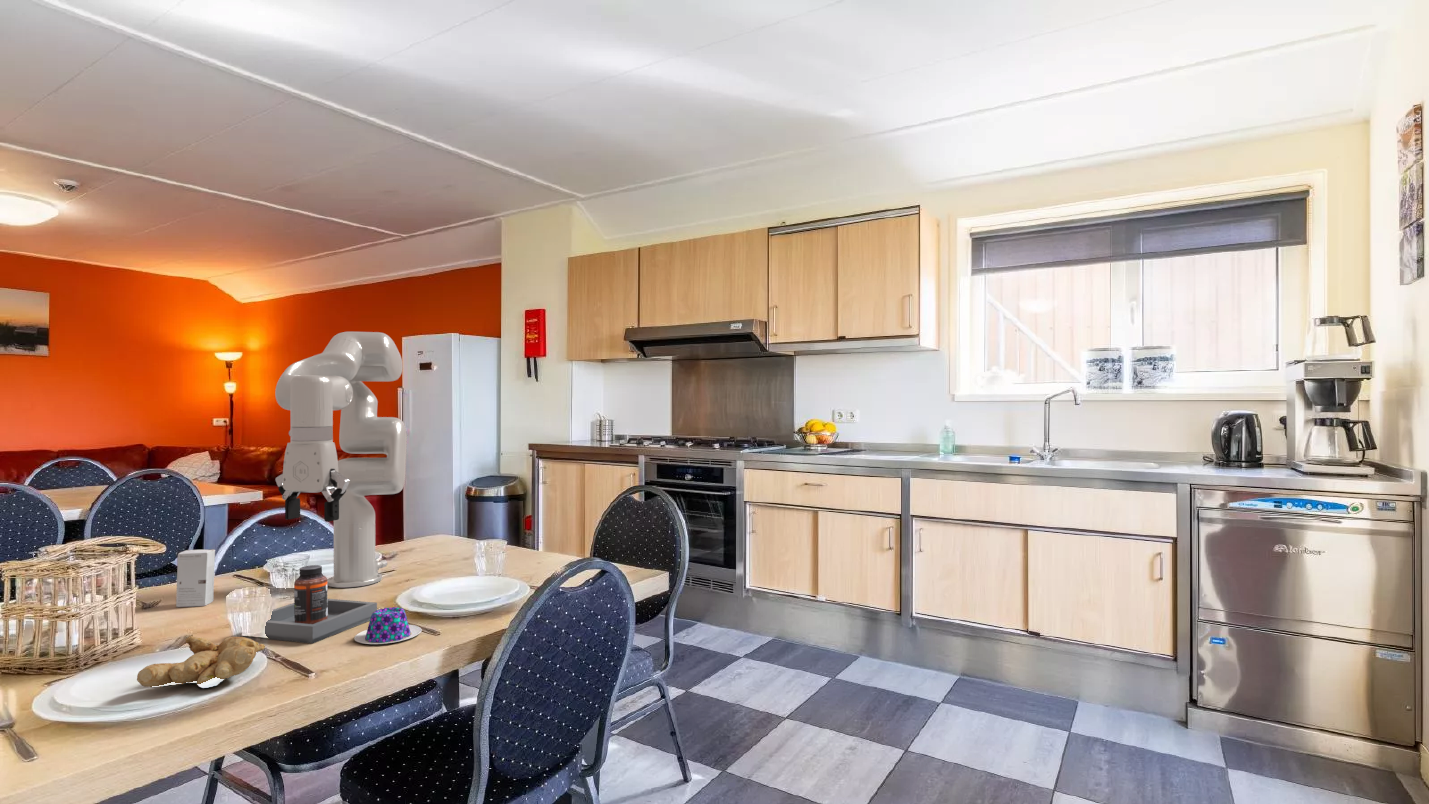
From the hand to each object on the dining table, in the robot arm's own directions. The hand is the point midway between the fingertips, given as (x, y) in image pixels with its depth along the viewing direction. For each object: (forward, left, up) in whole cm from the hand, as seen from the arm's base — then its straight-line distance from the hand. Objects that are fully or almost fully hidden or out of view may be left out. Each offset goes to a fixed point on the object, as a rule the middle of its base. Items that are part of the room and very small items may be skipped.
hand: (312, 519), depth 146 cm
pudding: (+1, +19, -22) cm, 30 cm away
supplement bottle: (0, 0, -21) cm, 21 cm away
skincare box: (-7, -39, -22) cm, 45 cm away
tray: (0, 0, -22) cm, 22 cm away
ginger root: (+27, +7, -22) cm, 35 cm away
